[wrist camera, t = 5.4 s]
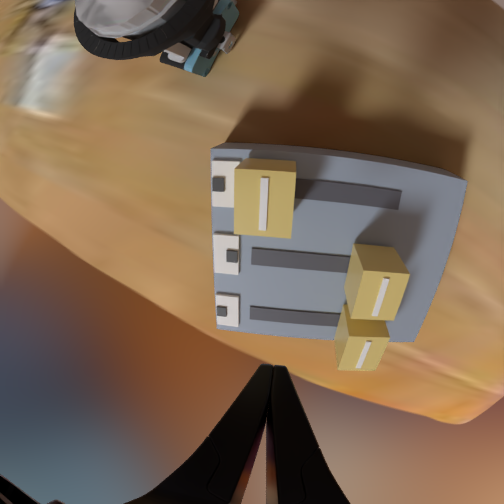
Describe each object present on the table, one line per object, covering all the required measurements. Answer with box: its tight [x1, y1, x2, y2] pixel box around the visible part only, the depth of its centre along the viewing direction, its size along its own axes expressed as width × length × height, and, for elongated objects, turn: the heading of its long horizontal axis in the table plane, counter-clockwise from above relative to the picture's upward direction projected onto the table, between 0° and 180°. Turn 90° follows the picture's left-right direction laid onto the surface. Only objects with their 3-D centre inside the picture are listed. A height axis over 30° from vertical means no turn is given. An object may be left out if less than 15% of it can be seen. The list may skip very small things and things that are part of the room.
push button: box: [74, 0, 239, 77], centre depth 9 cm, size 7×5×10 cm
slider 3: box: [334, 304, 390, 371], centre depth 16 cm, size 2×3×3 cm
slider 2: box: [344, 243, 410, 321], centre depth 14 cm, size 2×3×3 cm
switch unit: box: [211, 143, 468, 342], centre depth 17 cm, size 14×12×3 cm
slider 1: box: [234, 158, 296, 239], centre depth 13 cm, size 2×3×3 cm
